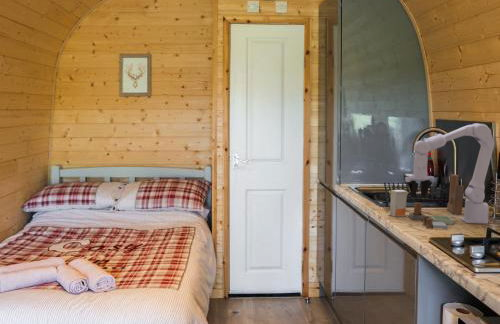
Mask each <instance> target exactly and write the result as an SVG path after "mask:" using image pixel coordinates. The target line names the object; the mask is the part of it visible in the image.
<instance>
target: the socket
mask: <svg viewBox="0 0 500 324" xmlns="http://www.w3.org/2000/svg"><path fill="white" fill-rule="evenodd" d="M408 214H409V215H408V217H409V218H410V219H411V221H412V220H413V221H415V220H417V221H423V217H424V216H427V215H426V214H425V213H424V212H421V215H414V212H408Z"/></svg>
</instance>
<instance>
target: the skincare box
mask: <svg viewBox="0 0 500 324" xmlns="http://www.w3.org/2000/svg"><path fill="white" fill-rule="evenodd" d="M390 191H391V198H390V204H389V205H390V206H389V216H392V217H397V218H399V217H406V212H407V198H408V197H407V196H408V194H407V192H408V191H407V190H405V189H391V190H390Z"/></svg>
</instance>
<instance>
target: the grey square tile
mask: <svg viewBox="0 0 500 324" xmlns="http://www.w3.org/2000/svg"><path fill="white" fill-rule="evenodd" d="M448 227H449V225H446V224H445V223H443V222H433V225H432V229H433V228H442V229H441V230H448V229H449V228H448Z"/></svg>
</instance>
